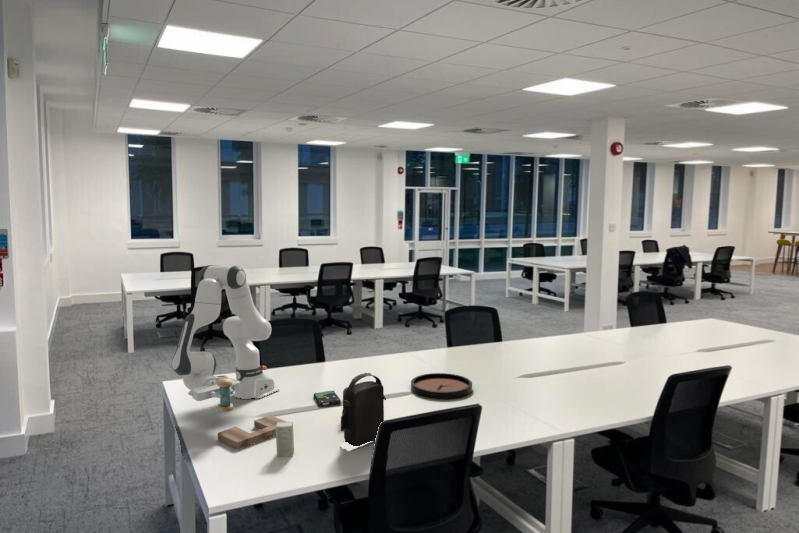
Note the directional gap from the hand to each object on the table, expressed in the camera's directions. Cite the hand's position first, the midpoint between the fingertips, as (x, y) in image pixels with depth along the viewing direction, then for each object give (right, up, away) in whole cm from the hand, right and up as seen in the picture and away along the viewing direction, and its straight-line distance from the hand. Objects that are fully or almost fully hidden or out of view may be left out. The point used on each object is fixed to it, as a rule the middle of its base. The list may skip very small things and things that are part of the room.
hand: (226, 394), depth 242 cm
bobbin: (-1, -6, +1) cm, 7 cm away
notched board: (+12, -17, 0) cm, 21 cm away
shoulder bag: (+57, -18, -4) cm, 60 cm away
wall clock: (+93, -11, +59) cm, 111 cm away
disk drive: (+36, -13, +41) cm, 57 cm away
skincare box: (+28, -19, -18) cm, 38 cm away
